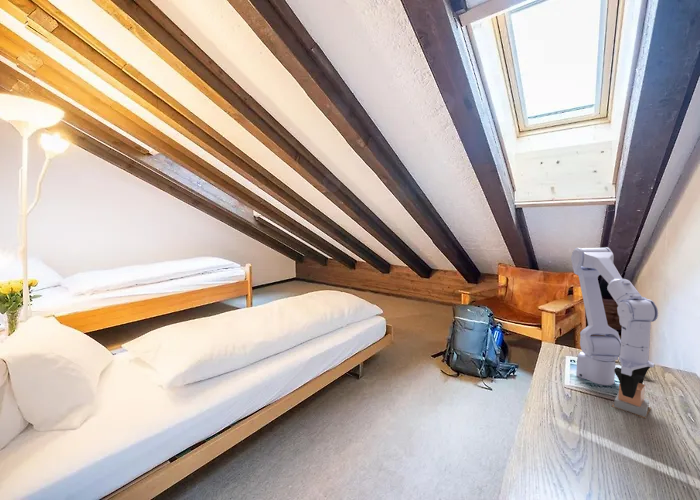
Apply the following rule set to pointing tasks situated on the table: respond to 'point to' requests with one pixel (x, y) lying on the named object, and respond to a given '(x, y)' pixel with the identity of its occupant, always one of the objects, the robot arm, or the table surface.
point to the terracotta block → (637, 397)
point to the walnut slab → (634, 413)
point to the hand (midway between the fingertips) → (631, 391)
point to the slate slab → (632, 406)
